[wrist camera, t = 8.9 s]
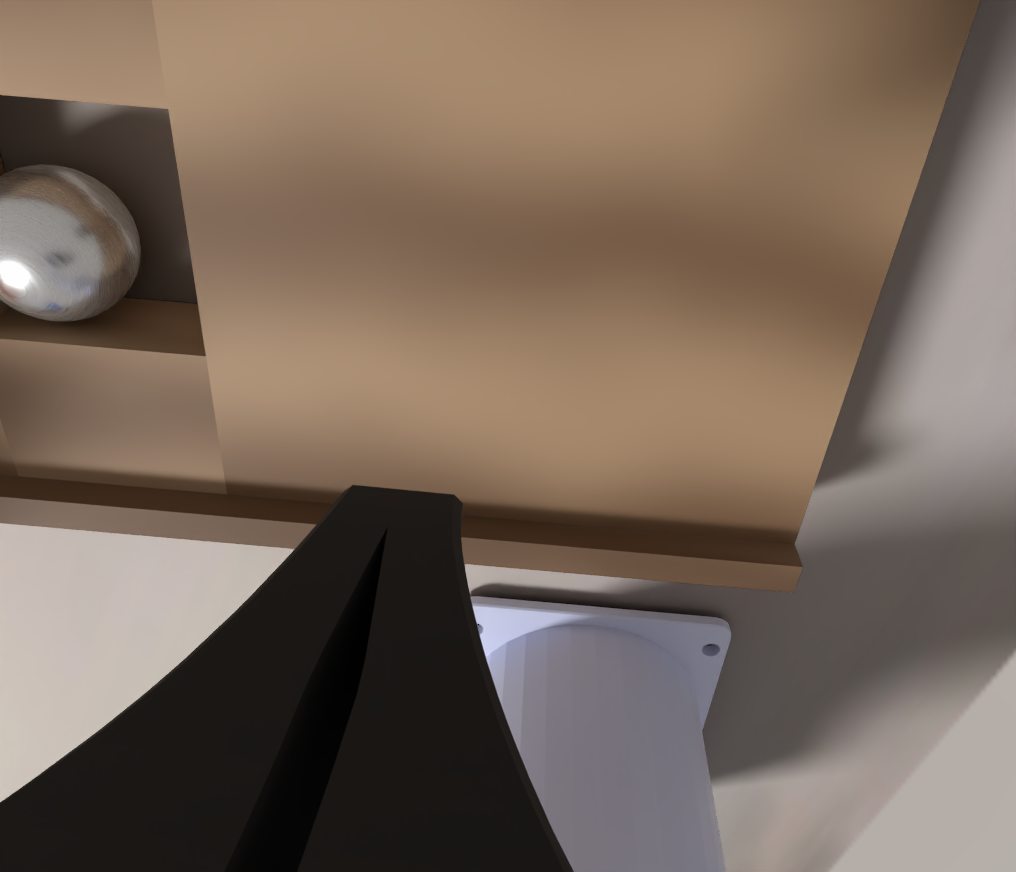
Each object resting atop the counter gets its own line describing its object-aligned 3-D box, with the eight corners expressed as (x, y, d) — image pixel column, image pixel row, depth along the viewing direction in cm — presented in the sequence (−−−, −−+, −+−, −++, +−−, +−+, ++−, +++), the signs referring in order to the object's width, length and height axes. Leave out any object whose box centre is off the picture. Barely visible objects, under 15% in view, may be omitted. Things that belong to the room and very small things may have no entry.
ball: (186, 269, 19) (120, 355, 17) (64, 266, 20) (-17, 349, 17) (133, 137, 17) (48, 216, 15) (-4, 137, 17) (-107, 213, 15)
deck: (764, 505, 22) (794, 592, 19) (-14, 437, 22) (-97, 514, 19) (957, -131, 14) (1054, -139, 11) (-240, -227, 14) (-432, -259, 12)
